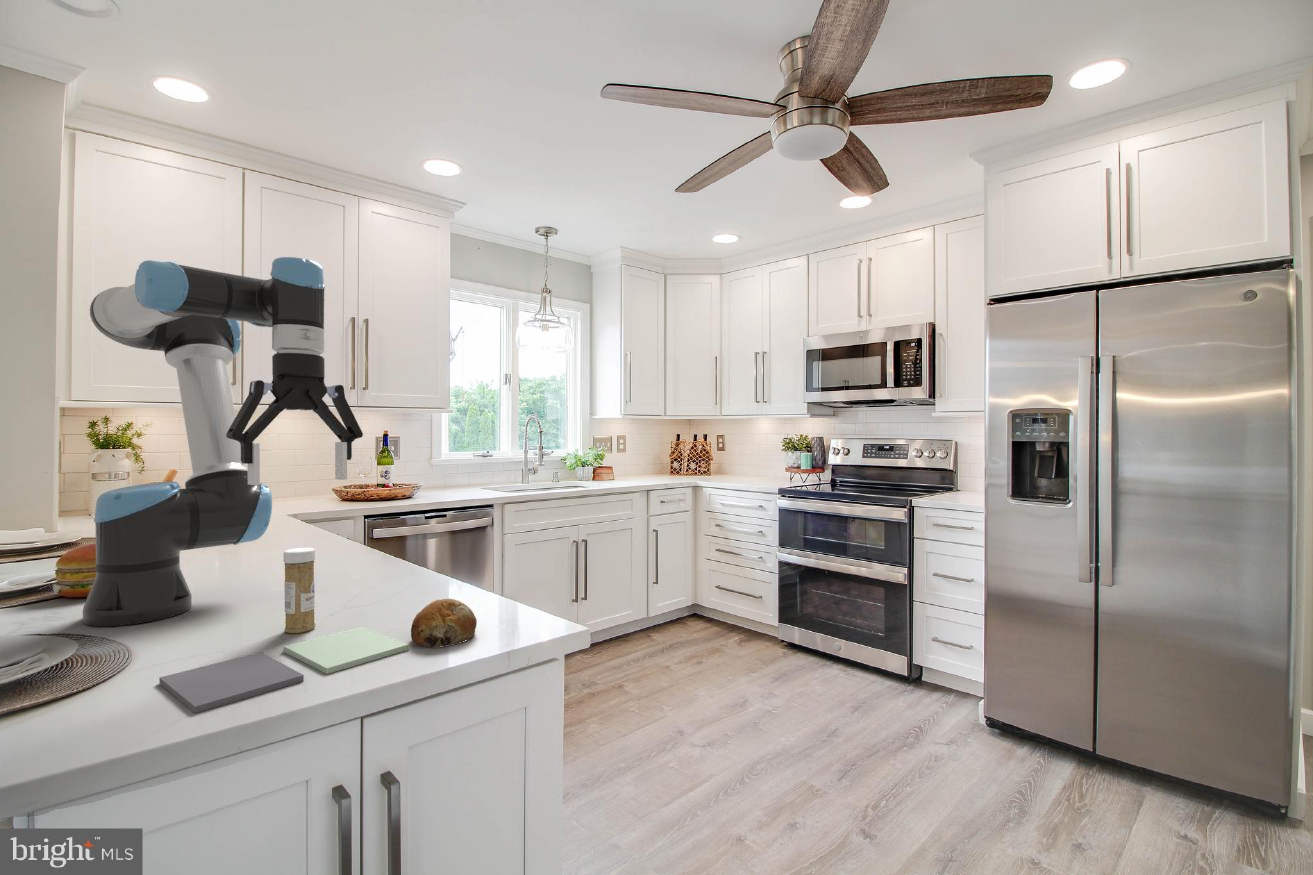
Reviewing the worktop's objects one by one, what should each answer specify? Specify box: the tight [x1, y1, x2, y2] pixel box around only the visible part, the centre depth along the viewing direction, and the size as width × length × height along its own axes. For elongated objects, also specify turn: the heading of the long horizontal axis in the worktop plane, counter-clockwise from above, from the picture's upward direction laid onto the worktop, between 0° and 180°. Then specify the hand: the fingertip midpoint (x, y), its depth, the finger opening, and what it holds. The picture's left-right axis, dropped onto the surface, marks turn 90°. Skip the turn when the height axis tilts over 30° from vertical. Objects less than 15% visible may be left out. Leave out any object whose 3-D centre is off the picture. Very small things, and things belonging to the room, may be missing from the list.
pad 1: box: [158, 651, 305, 714], centre depth 82 cm, size 14×12×1 cm
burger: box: [52, 543, 96, 598], centre depth 127 cm, size 13×14×10 cm
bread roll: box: [410, 598, 478, 648], centre depth 100 cm, size 10×10×8 cm
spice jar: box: [283, 547, 316, 634], centre depth 104 cm, size 5×5×13 cm
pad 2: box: [283, 626, 410, 675], centre depth 94 cm, size 14×12×1 cm
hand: (299, 482), depth 103 cm, fingers open, 13 cm apart
